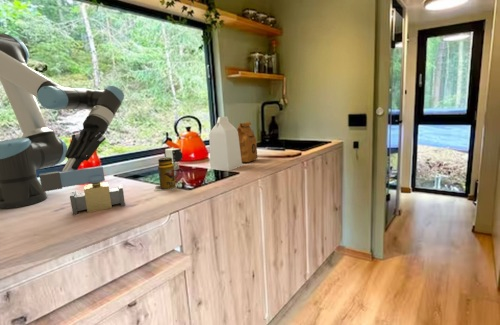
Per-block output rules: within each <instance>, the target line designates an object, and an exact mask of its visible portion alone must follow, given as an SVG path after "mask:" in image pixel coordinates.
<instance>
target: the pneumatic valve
mask: <svg viewBox="0 0 500 325" xmlns="http://www.w3.org/2000/svg"><path fill="white" fill-rule="evenodd" d="M163 155H164V158H172V164H173V165H174V171H176V170H179V169H180V166H179V162H182V161H183V158H184V156H183V152H182V149H181V148H175V147H174V146H172V147H171V148H170V147H169V148H165V149H164V153H163Z"/></svg>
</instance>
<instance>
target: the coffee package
mask: <svg viewBox="0 0 500 325" xmlns="http://www.w3.org/2000/svg"><path fill="white" fill-rule="evenodd" d="M251 125H252V123H251V121H247V122H244V123H243V122H240V123H239V125H238V127H237V128H236V129H237V131H238V136H239V144H240V153H241V161H242V164H243V163H250V162H253V161H257V159H258V149H257V147H258V146H257V145H258V144H257V143H258V142H257V139H256V138H257V137H256V135H255V134H254V132H253V131H252V129H251Z"/></svg>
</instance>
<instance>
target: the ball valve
mask: <svg viewBox="0 0 500 325" xmlns="http://www.w3.org/2000/svg"><path fill="white" fill-rule="evenodd" d="M83 191H84V192H81V193H77V192H76V190H75V191H71V192H70V195H69V199H70V206H71V210H72V215H73V216H74V215H78V213H79V211H85V210H86V211H87V213H93V212H99V211H104V210H108V209H110V210H111V209H113V208H112V207H113V206H112V205H118V204H120V205H121V207H124V206H126V201H125V195H124V188H123V184H117V187H114V188H110V186H109V182H108V181H102V182H99V183H89V184H84V188H83Z"/></svg>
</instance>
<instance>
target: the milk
mask: <svg viewBox="0 0 500 325" xmlns="http://www.w3.org/2000/svg"><path fill="white" fill-rule="evenodd" d="M229 121H230V120H229V117H228V116H221V117H220V116H219V117H217V121H216V124H215V125H214V126H213V127H212V129H211V130H210V132H209V134H208V136H209V158H210V159H209V162H210V166H209V168H210V170H213V169H216V171H226V170H228V172H229V171H232V170H234V169H237V167H238V168H241V167H243V163H242V161H241V153H240V144H239V136H238V131H237V129H238V128H237V127H235V126H234V125H233V124H232V123H231V122H229ZM240 166H241V167H240Z"/></svg>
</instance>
